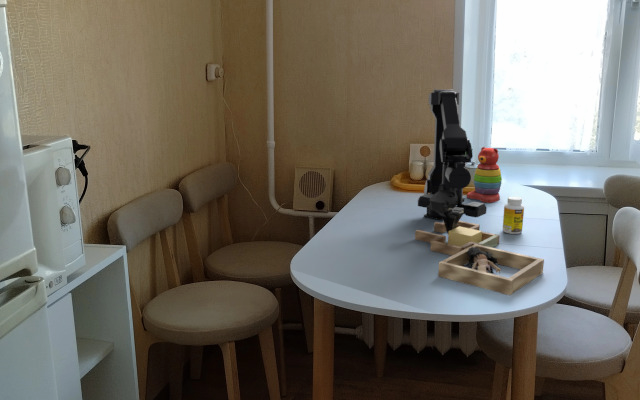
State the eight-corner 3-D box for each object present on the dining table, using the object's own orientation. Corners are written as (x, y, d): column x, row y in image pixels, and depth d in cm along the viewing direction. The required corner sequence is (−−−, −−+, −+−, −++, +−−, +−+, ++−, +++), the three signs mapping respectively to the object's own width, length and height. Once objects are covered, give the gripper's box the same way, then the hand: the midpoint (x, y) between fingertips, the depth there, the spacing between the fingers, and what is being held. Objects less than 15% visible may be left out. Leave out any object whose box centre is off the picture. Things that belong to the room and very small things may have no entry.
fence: (438, 276, 163) (438, 262, 162) (474, 256, 177) (475, 243, 176) (510, 295, 151) (511, 280, 151) (542, 272, 165) (544, 259, 164)
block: (447, 245, 187) (448, 231, 186) (458, 239, 191) (459, 226, 190) (470, 250, 182) (471, 236, 181) (481, 245, 187) (482, 231, 186)
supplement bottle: (513, 235, 194) (515, 201, 191) (498, 231, 198) (500, 197, 196) (526, 232, 197) (529, 198, 194) (511, 228, 201) (513, 194, 199)
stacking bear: (464, 197, 237) (466, 147, 232) (483, 193, 243) (486, 144, 238) (488, 203, 228) (491, 151, 224) (507, 199, 234) (511, 148, 230)
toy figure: (505, 286, 158) (492, 261, 172) (504, 262, 156) (491, 238, 170) (474, 289, 158) (464, 264, 173) (472, 265, 156) (462, 241, 171)
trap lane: (404, 244, 187) (404, 235, 186) (445, 225, 203) (445, 217, 203) (469, 259, 174) (470, 250, 174) (507, 239, 191) (508, 230, 190)
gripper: (407, 180, 186) (406, 234, 190) (469, 190, 174) (465, 248, 178) (429, 173, 194) (427, 225, 198) (489, 183, 182) (485, 238, 186)
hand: (449, 234), depth 190 cm, fingers closed
